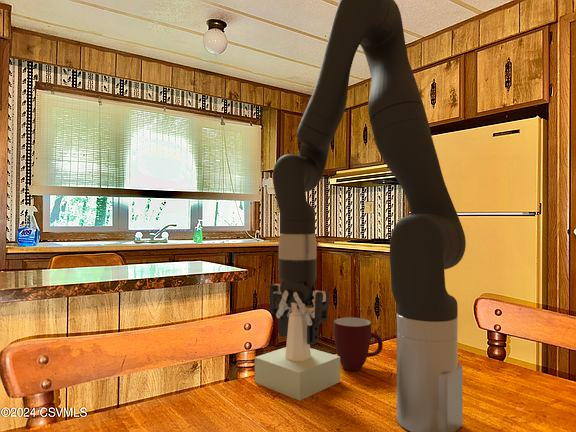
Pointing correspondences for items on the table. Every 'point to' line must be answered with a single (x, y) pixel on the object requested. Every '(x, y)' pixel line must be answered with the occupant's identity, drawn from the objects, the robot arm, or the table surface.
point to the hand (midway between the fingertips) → (297, 339)
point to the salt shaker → (297, 336)
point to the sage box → (297, 373)
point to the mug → (354, 341)
